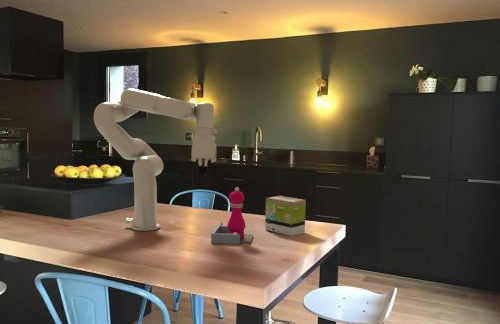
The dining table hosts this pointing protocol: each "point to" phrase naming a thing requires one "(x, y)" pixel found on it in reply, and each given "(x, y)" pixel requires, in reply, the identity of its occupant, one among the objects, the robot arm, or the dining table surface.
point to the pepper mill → (236, 213)
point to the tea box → (285, 215)
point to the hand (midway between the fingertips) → (203, 175)
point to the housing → (224, 235)
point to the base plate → (245, 238)
